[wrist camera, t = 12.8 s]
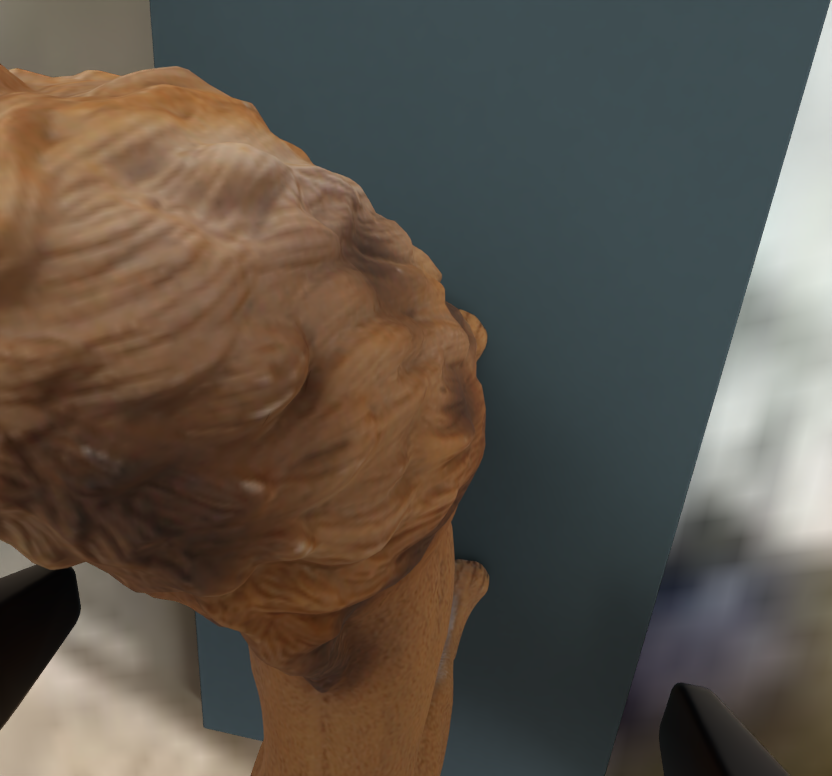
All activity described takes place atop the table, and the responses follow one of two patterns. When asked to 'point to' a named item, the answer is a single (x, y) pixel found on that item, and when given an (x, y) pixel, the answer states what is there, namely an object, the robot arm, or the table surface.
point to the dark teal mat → (540, 293)
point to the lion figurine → (239, 403)
